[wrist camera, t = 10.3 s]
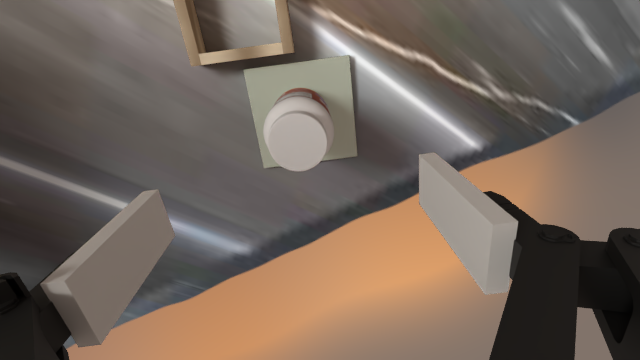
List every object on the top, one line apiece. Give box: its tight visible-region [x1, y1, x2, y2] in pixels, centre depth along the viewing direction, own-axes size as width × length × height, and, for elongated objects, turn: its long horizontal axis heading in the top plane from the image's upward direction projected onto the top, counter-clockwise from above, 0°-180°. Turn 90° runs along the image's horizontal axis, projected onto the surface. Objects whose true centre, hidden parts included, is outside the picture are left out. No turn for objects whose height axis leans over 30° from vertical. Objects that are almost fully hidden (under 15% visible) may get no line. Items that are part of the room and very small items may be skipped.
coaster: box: [243, 55, 357, 168], centre depth 35 cm, size 11×11×1 cm
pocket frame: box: [173, 0, 295, 66], centre depth 29 cm, size 10×10×2 cm
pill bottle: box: [263, 88, 334, 171], centre depth 29 cm, size 6×6×11 cm
